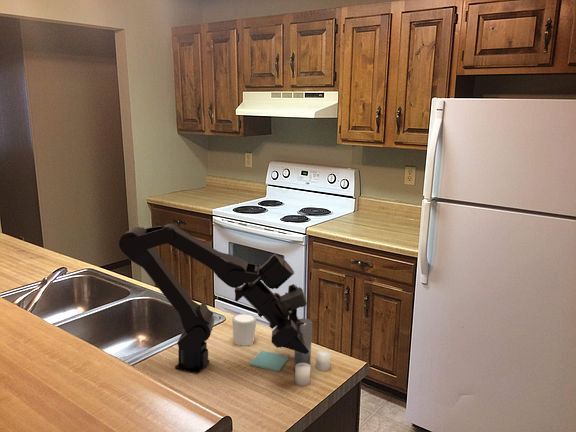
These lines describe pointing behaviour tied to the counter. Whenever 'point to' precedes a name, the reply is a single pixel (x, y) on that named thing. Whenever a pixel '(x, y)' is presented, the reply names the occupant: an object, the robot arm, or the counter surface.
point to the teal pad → (269, 361)
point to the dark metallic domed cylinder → (304, 340)
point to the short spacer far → (323, 360)
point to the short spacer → (302, 374)
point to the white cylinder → (243, 329)
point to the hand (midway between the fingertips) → (306, 344)
